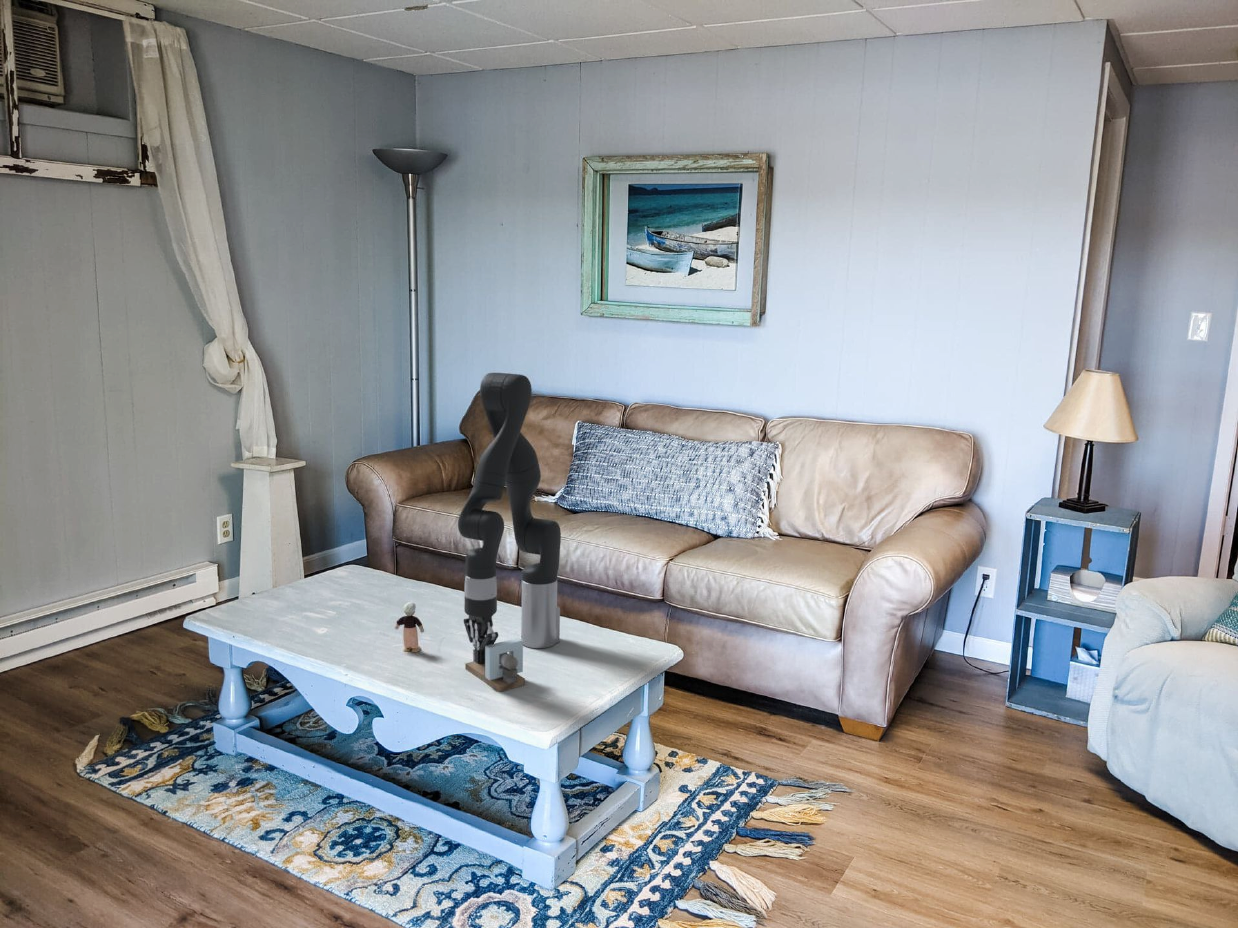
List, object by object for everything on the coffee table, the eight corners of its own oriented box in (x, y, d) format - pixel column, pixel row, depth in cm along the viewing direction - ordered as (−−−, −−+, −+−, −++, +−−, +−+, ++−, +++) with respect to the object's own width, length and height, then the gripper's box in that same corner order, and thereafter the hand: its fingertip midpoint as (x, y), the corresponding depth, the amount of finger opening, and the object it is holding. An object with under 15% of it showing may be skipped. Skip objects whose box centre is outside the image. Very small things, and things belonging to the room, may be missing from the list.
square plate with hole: (518, 668, 225) (518, 637, 224) (522, 671, 224) (523, 640, 222) (485, 677, 220) (485, 645, 218) (489, 680, 218) (489, 648, 217)
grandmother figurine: (426, 647, 243) (425, 600, 241) (423, 652, 239) (423, 604, 237) (396, 646, 243) (395, 599, 240) (393, 652, 239) (392, 604, 237)
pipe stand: (490, 662, 234) (490, 633, 232) (525, 684, 221) (525, 654, 220) (464, 668, 230) (464, 639, 228) (499, 691, 217) (499, 660, 216)
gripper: (509, 598, 217) (508, 668, 220) (481, 582, 227) (480, 650, 231) (480, 604, 212) (480, 676, 216) (452, 587, 223) (453, 656, 226)
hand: (480, 662), depth 223 cm, fingers closed
